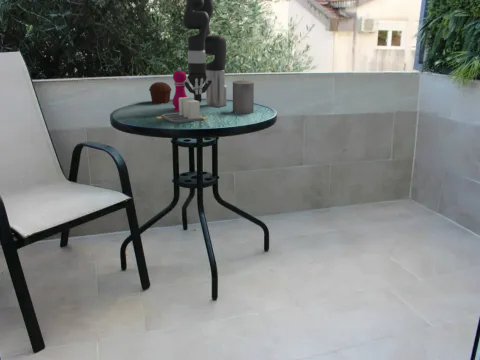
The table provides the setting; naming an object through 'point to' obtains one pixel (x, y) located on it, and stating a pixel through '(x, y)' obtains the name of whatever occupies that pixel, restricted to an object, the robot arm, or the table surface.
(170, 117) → the switch box
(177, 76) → the pepper mill
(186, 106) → the tab middle
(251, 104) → the pillar candle
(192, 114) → the block
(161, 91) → the muffin
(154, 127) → the table surface
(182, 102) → the tab inner
